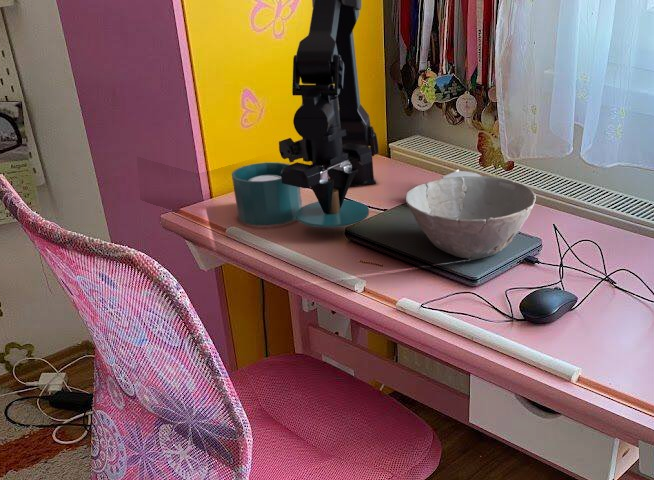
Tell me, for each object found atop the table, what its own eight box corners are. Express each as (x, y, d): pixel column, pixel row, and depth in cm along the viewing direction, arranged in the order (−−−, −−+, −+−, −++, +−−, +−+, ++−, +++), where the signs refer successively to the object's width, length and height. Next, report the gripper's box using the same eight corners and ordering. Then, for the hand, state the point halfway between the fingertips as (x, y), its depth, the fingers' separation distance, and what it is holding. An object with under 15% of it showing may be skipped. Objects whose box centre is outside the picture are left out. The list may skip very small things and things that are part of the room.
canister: (296, 203, 175) (291, 159, 170) (307, 223, 165) (302, 177, 160) (235, 210, 172) (228, 166, 167) (243, 231, 162) (235, 185, 157)
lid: (360, 201, 166) (358, 175, 163) (377, 225, 156) (375, 197, 153) (291, 210, 163) (287, 183, 160) (303, 234, 152) (300, 206, 149)
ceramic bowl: (442, 220, 166) (440, 169, 160) (553, 239, 157) (555, 185, 152) (382, 262, 149) (379, 206, 144) (503, 285, 140) (504, 226, 135)
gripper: (323, 107, 160) (332, 189, 169) (251, 130, 147) (264, 218, 156) (370, 115, 155) (376, 199, 164) (300, 139, 142) (311, 230, 150)
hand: (332, 210), depth 158 cm, fingers closed on lid, 3 cm apart
